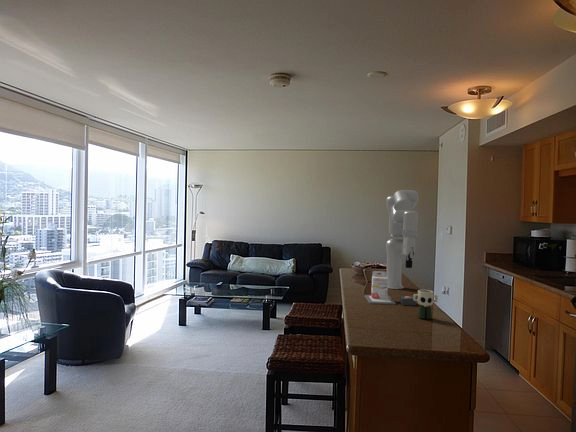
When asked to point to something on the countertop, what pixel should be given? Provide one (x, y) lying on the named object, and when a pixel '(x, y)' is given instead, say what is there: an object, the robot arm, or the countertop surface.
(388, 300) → the drawing board
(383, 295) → the ink cartridge box
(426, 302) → the character mug
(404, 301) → the button housing
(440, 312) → the countertop surface
